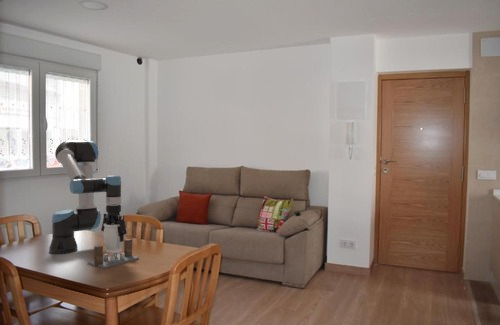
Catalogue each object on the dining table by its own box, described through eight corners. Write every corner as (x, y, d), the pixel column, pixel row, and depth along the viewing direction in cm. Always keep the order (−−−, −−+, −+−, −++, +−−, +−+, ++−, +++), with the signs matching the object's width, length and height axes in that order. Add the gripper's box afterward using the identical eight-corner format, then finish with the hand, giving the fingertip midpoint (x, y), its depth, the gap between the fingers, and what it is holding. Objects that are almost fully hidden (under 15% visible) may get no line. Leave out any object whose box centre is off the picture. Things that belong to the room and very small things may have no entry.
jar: (117, 254, 215) (117, 225, 215) (99, 253, 217) (99, 224, 217) (127, 249, 226) (127, 222, 225) (110, 248, 228) (110, 221, 227)
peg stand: (87, 264, 216) (87, 256, 216) (122, 255, 235) (121, 248, 234) (104, 268, 209) (104, 260, 208) (138, 258, 227) (138, 251, 227)
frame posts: (94, 265, 213) (94, 246, 213) (128, 256, 232) (128, 238, 231) (97, 266, 212) (97, 247, 211) (132, 257, 230) (132, 239, 229)
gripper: (94, 203, 224) (94, 244, 225) (122, 207, 211) (122, 250, 212) (105, 202, 230) (106, 241, 231) (133, 205, 217) (133, 247, 218)
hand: (113, 246), depth 221 cm, fingers closed on jar, 10 cm apart
